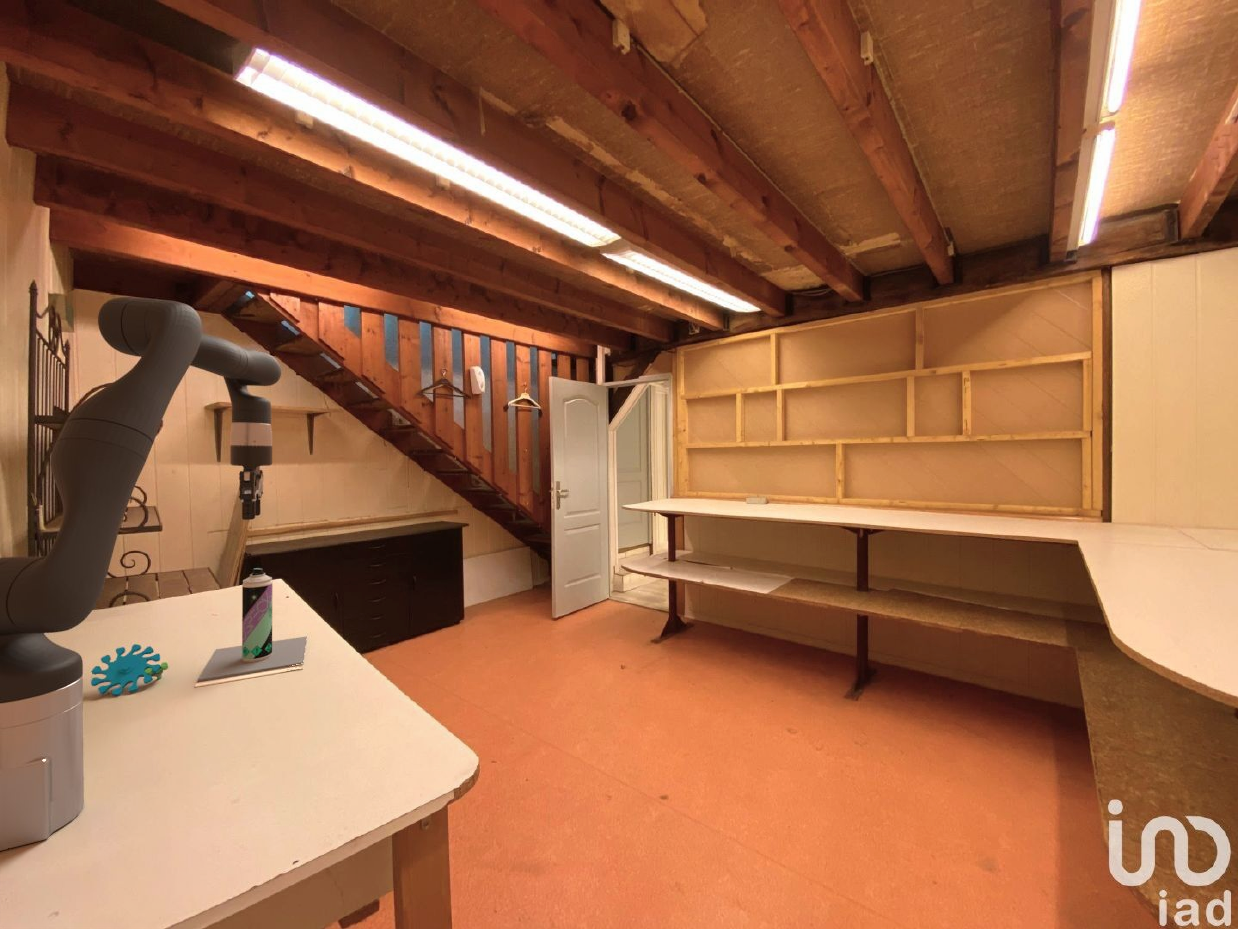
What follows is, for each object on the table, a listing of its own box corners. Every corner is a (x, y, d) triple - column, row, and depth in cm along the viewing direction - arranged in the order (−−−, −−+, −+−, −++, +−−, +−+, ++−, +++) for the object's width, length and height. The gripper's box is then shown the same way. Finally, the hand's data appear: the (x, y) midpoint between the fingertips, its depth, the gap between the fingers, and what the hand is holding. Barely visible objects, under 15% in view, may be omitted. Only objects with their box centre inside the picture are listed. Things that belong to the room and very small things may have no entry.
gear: (78, 694, 93) (103, 643, 100) (85, 707, 96) (109, 656, 103) (156, 691, 98) (175, 642, 104) (160, 703, 101) (178, 655, 108)
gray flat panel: (302, 669, 108) (302, 667, 108) (194, 687, 100) (194, 685, 100) (306, 638, 127) (306, 636, 126) (215, 651, 118) (215, 649, 118)
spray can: (236, 659, 112) (237, 569, 112) (263, 651, 117) (264, 564, 117) (250, 664, 109) (250, 572, 109) (277, 655, 114) (277, 567, 114)
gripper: (268, 443, 107) (268, 520, 107) (275, 445, 120) (275, 513, 120) (224, 443, 104) (224, 522, 104) (236, 444, 116) (236, 515, 116)
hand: (251, 517), depth 112 cm, fingers open, 8 cm apart
